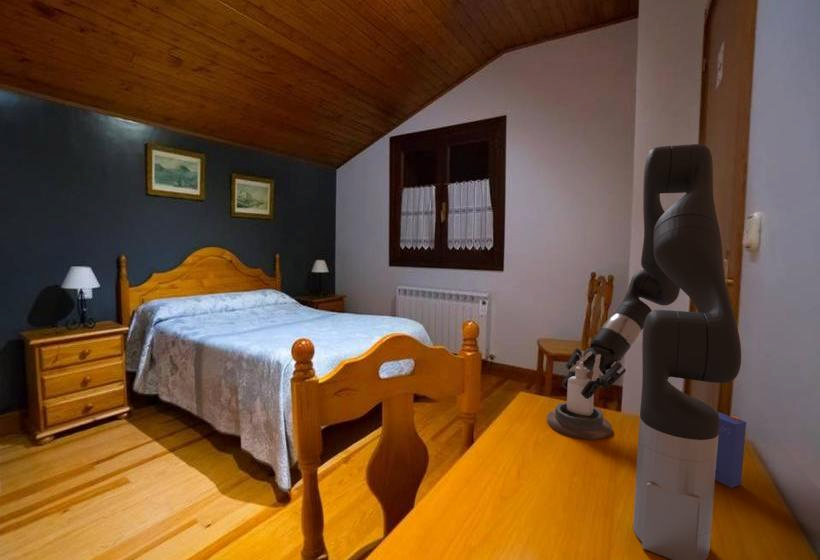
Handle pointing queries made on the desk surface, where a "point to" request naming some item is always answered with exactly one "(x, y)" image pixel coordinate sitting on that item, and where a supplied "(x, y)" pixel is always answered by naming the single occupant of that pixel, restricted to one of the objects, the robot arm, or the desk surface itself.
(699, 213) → the robot arm
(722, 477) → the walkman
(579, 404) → the eye dropper bottle
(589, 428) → the bottle collar
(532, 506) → the desk surface
